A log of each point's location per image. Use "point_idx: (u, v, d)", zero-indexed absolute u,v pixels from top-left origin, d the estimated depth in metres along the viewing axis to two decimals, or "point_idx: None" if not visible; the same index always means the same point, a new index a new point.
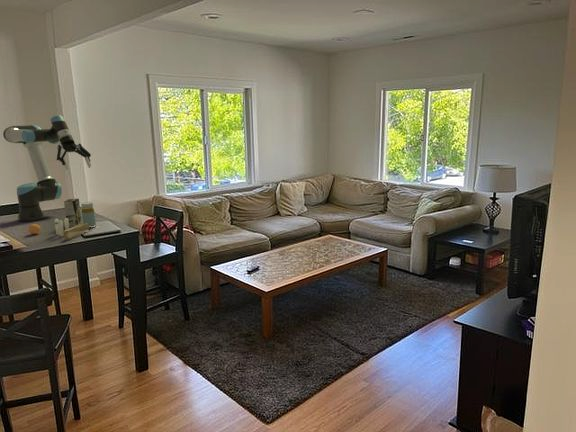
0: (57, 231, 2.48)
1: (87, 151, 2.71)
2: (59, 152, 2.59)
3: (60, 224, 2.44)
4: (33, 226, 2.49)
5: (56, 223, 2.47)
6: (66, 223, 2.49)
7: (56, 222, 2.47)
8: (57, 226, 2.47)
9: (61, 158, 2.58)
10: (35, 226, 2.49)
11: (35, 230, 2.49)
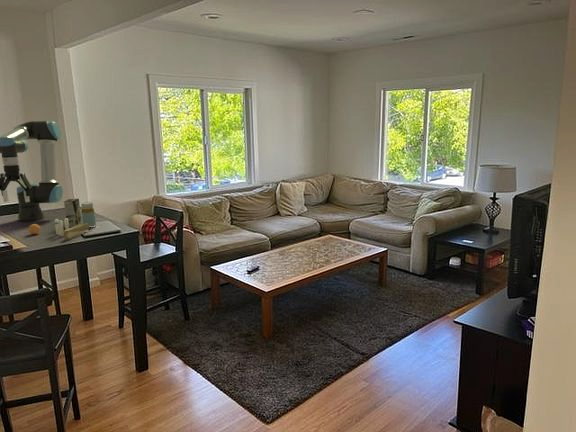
0: (57, 231, 2.48)
1: (26, 184, 2.45)
2: None
3: (60, 224, 2.44)
4: (33, 226, 2.49)
5: (56, 223, 2.47)
6: (66, 223, 2.49)
7: (56, 222, 2.47)
8: (57, 226, 2.47)
9: None
10: (35, 226, 2.49)
11: (35, 230, 2.49)
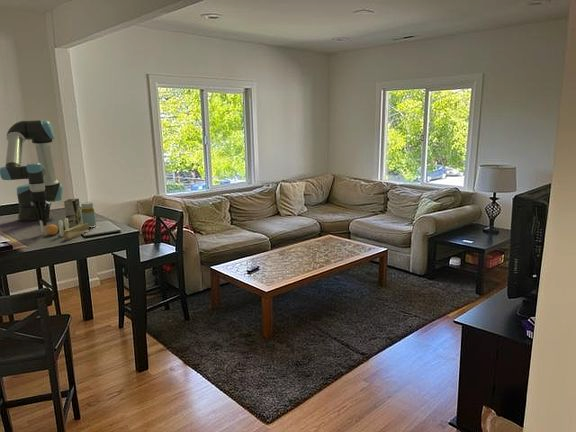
0: None
1: (46, 214, 2.46)
2: (33, 212, 2.47)
3: (60, 224, 2.44)
4: (48, 233, 2.48)
5: None
6: (66, 223, 2.49)
7: None
8: None
9: (38, 220, 2.48)
10: None
11: (46, 229, 2.48)
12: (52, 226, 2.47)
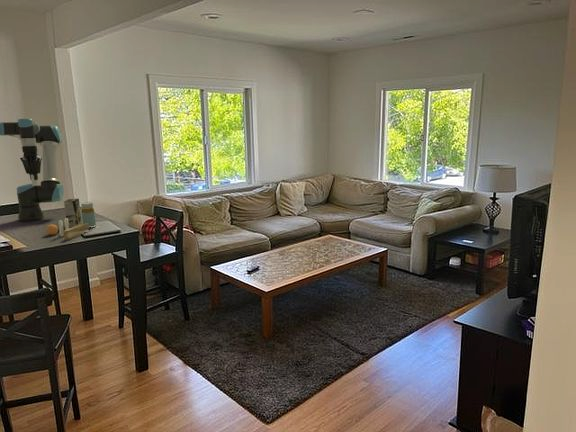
0: None
1: (37, 168, 2.55)
2: (24, 166, 2.56)
3: (60, 224, 2.44)
4: (48, 233, 2.48)
5: None
6: (66, 223, 2.49)
7: None
8: None
9: (29, 174, 2.57)
10: None
11: (46, 229, 2.48)
12: (52, 226, 2.47)
